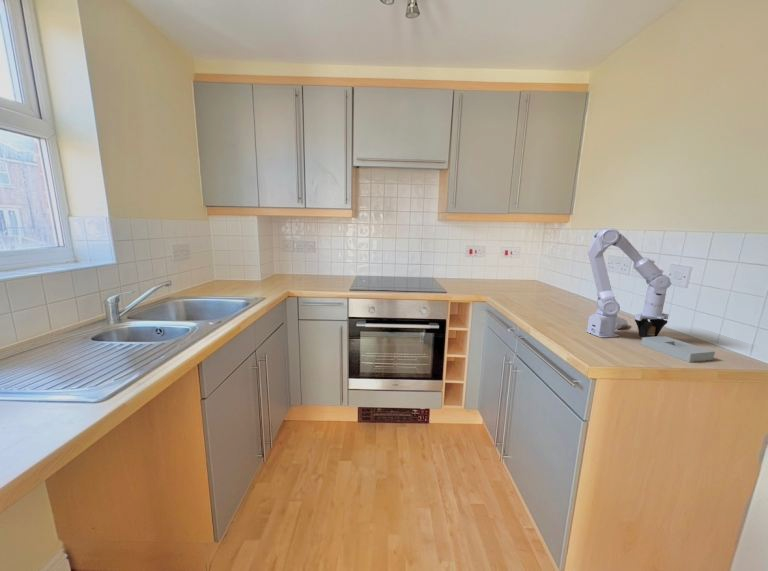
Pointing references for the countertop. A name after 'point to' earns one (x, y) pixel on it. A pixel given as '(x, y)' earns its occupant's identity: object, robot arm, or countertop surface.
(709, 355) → the grey board
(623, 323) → the stone block
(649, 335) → the walnut peg
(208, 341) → the countertop surface
